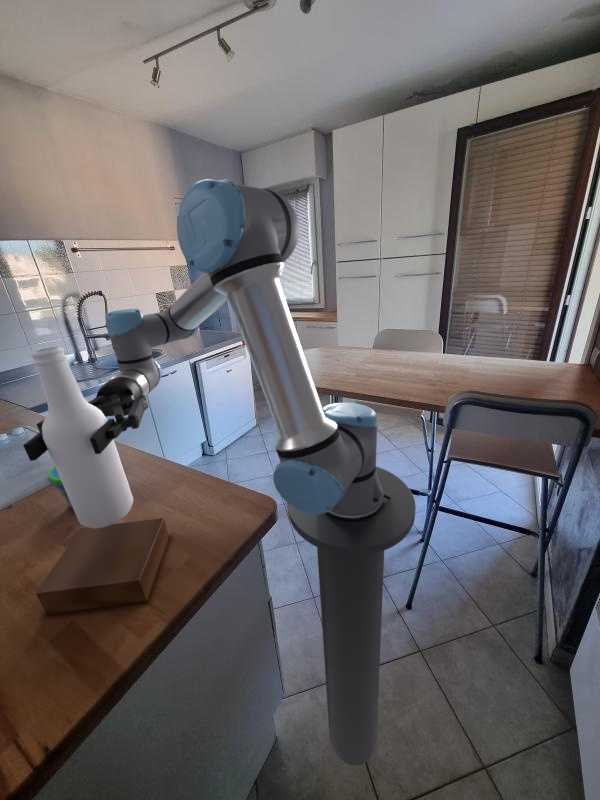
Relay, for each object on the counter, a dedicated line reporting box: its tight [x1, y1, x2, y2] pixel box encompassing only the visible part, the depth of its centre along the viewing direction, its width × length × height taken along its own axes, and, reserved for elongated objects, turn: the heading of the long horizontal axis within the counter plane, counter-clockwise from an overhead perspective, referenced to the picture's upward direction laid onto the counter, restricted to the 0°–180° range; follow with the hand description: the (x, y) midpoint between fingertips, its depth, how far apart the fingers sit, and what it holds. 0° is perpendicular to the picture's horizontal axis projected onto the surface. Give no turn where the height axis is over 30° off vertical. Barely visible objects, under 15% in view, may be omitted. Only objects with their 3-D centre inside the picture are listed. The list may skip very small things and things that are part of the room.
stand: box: [35, 517, 170, 615], centre depth 60 cm, size 16×14×5 cm
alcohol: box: [30, 345, 134, 528], centre depth 54 cm, size 9×9×30 cm
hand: (62, 449), depth 49 cm, fingers closed on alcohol, 9 cm apart
